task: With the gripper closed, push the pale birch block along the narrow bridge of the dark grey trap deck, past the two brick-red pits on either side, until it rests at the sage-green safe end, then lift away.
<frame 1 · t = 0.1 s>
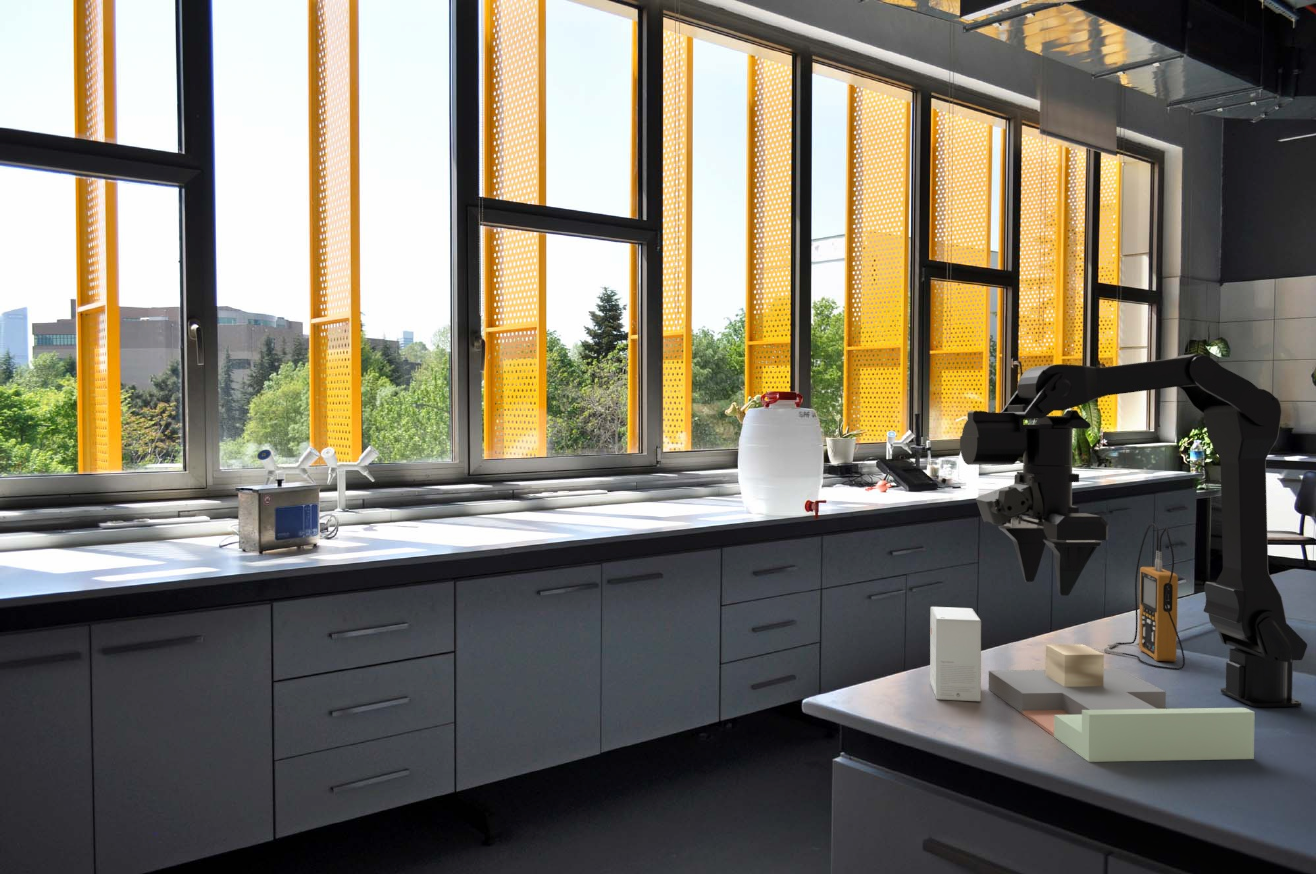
hand: (1045, 588, 116), 15 cm above the counter, tool pointing down, fingers open, 9 cm apart
trap deck: (1102, 718, 111), on the counter
multimeter: (1132, 657, 140), on the counter
small box: (954, 693, 121), on the counter
birch block: (1073, 680, 117), point 2 cm above the counter, touching trap deck
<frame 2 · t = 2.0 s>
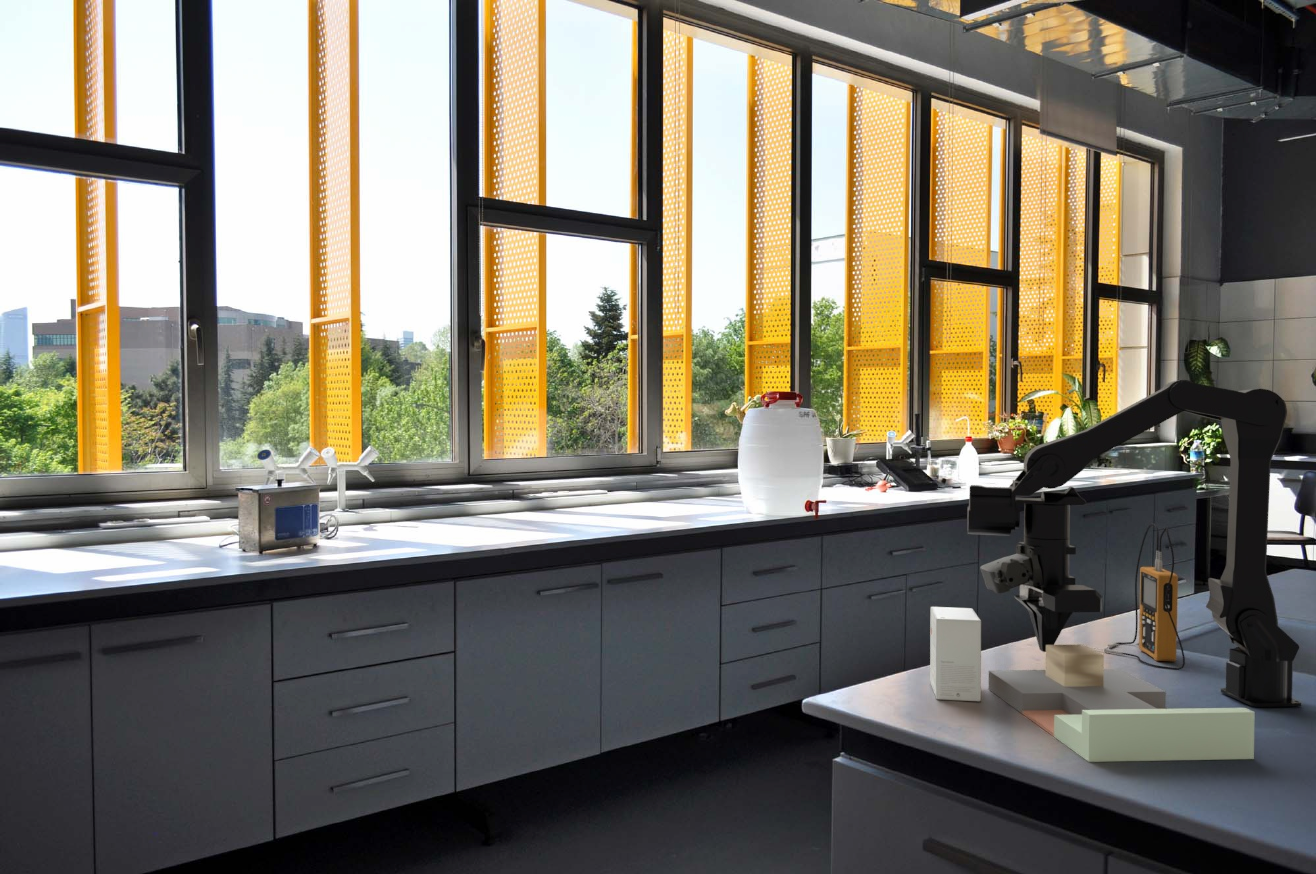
hand: (1045, 651, 125), 4 cm above the counter, tool pointing down, fingers closed
nothing on the counter moved.
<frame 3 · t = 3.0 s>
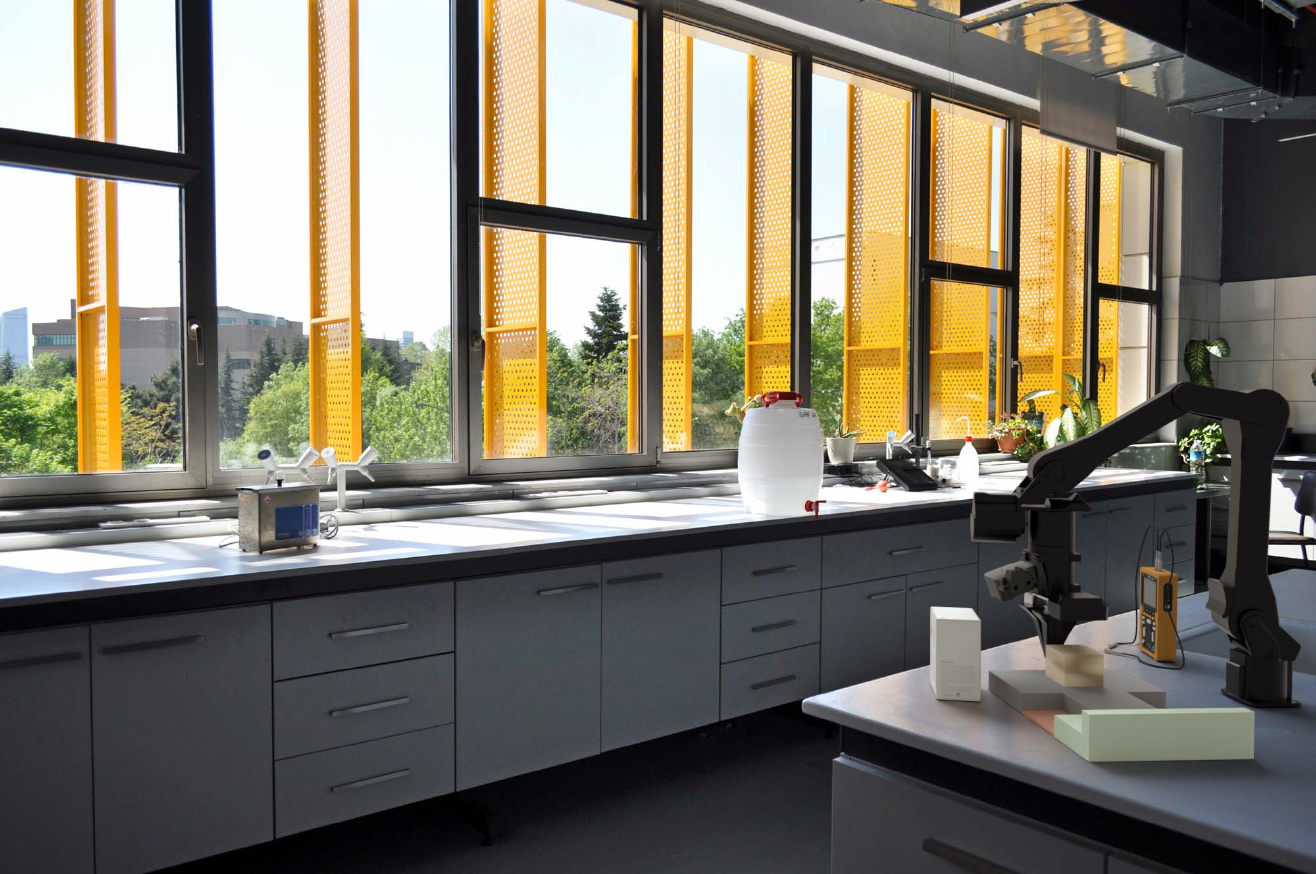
hand: (1050, 659, 124), 3 cm above the counter, tool pointing down, fingers closed
nothing on the counter moved.
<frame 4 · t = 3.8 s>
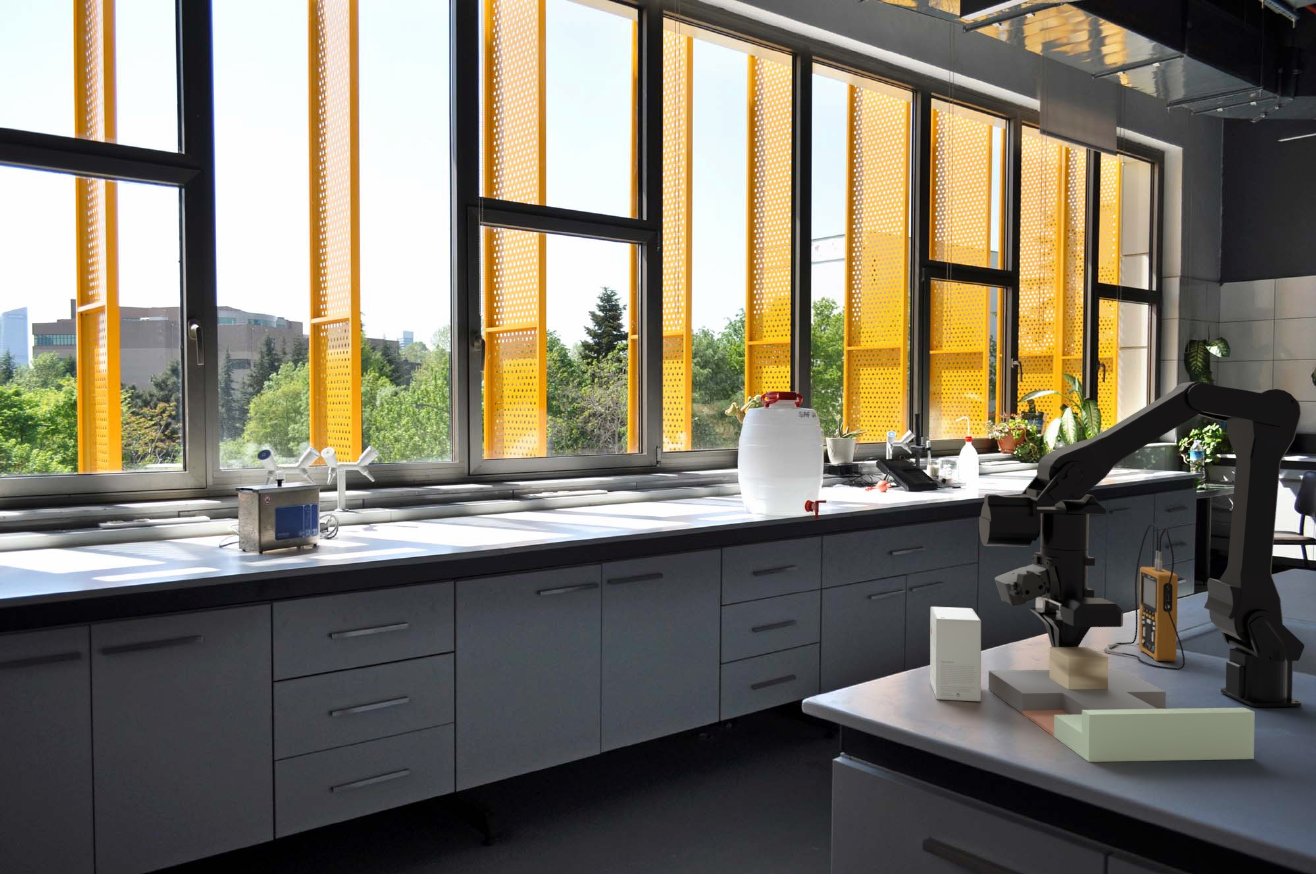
hand: (1062, 666, 120), 4 cm above the counter, tool pointing down, fingers closed
birch block: (1078, 683, 116), point 3 cm above the counter, touching gripper, trap deck
everything else where it was.
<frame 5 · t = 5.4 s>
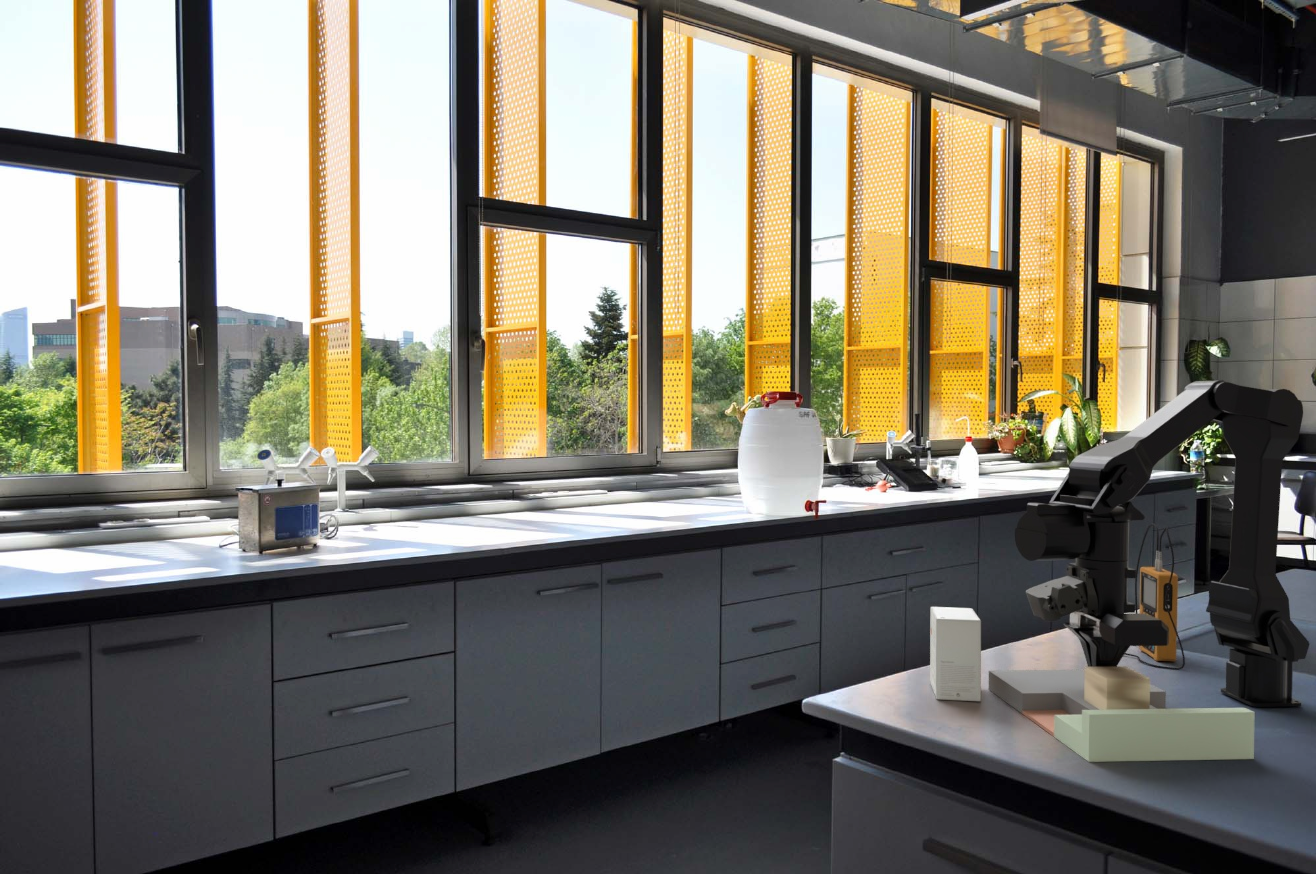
hand: (1099, 686, 111), 4 cm above the counter, tool pointing down, fingers closed
birch block: (1116, 706, 107), point 3 cm above the counter, touching gripper, trap deck
everything else where it was.
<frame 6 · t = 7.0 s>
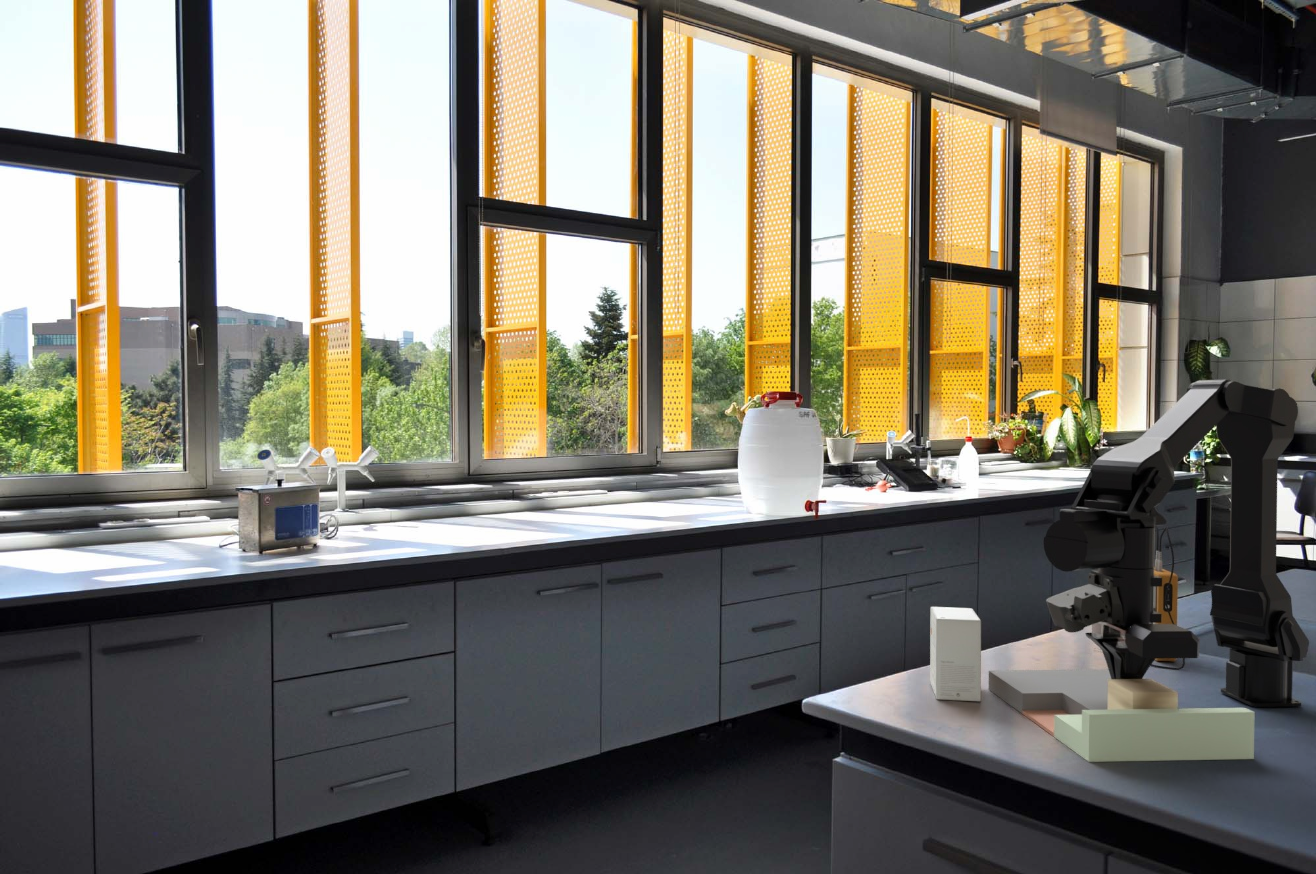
hand: (1123, 699, 106), 4 cm above the counter, tool pointing down, fingers closed
birch block: (1141, 721, 102), point 2 cm above the counter, touching gripper, trap deck
everything else where it was.
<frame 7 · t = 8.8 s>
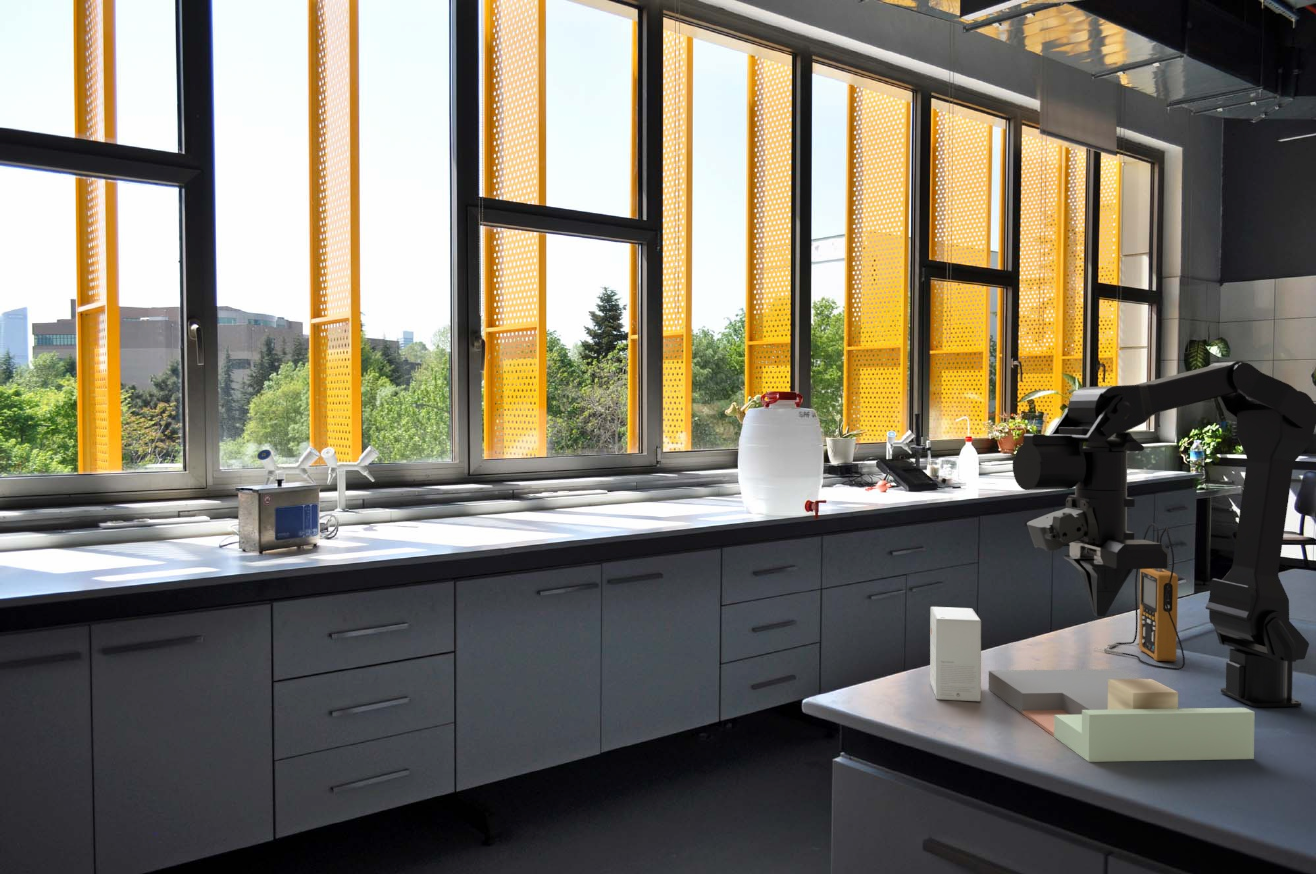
hand: (1099, 615, 113), 12 cm above the counter, tool pointing down, fingers closed
birch block: (1141, 721, 102), point 2 cm above the counter, touching trap deck
everything else where it was.
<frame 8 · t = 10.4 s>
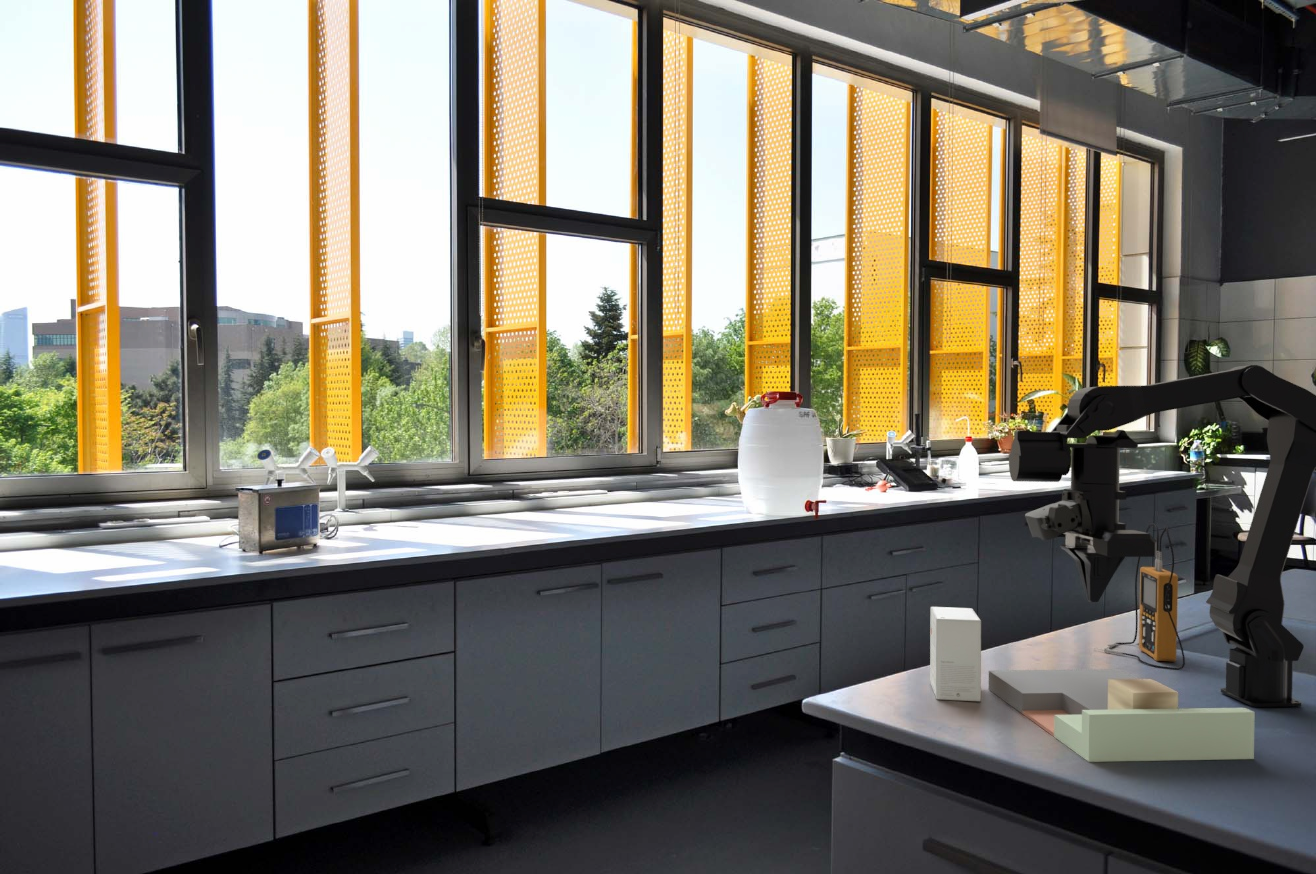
hand: (1092, 601, 120), 12 cm above the counter, tool pointing down, fingers closed
nothing on the counter moved.
at the end: birch block 0.4 cm from the target spot on the trap deck, point 2.5 cm above the trap deck's base; birch block tilted 0° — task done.
